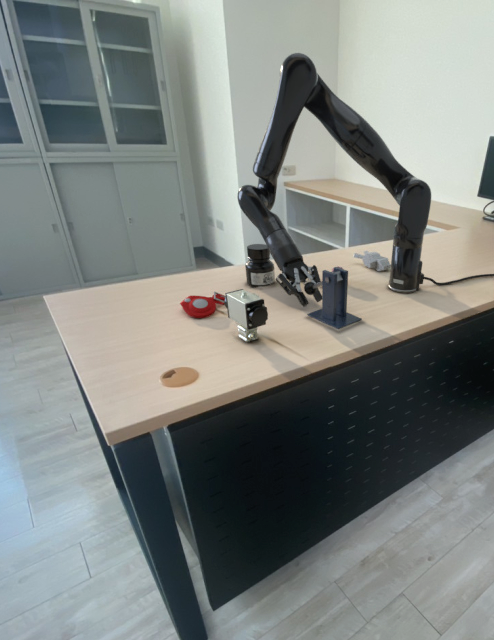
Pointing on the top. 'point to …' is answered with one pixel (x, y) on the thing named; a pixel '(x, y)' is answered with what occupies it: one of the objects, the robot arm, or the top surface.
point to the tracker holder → (202, 305)
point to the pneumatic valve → (246, 312)
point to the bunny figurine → (374, 260)
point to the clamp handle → (318, 284)
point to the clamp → (334, 301)
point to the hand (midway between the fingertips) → (313, 302)
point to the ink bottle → (259, 266)
